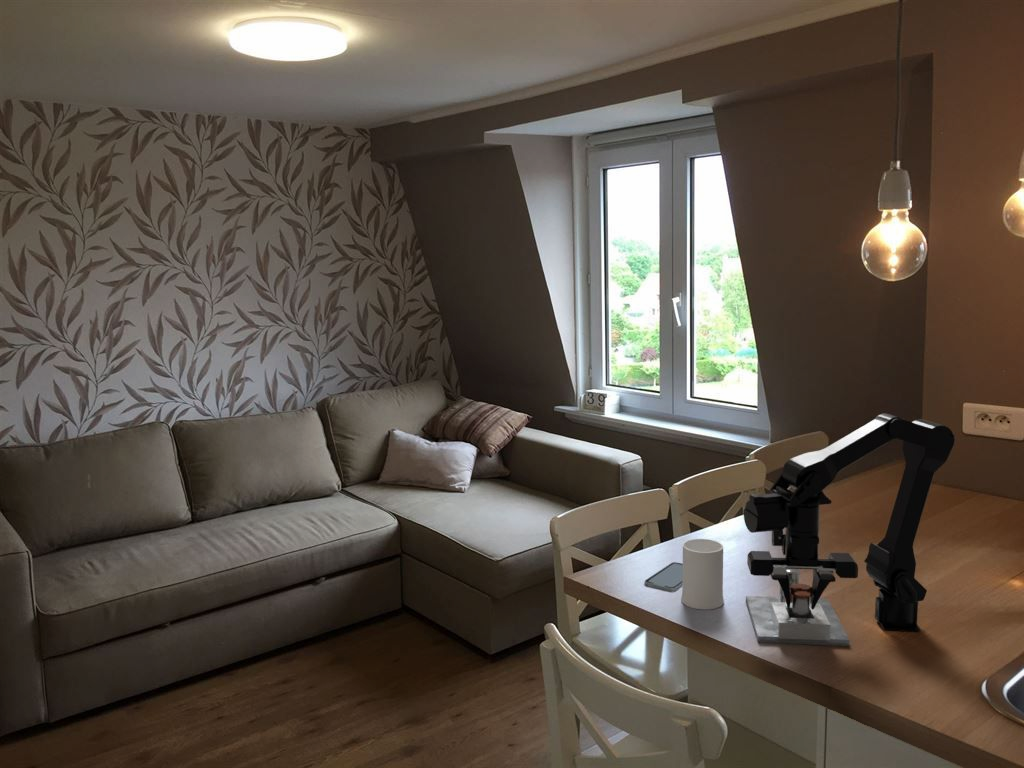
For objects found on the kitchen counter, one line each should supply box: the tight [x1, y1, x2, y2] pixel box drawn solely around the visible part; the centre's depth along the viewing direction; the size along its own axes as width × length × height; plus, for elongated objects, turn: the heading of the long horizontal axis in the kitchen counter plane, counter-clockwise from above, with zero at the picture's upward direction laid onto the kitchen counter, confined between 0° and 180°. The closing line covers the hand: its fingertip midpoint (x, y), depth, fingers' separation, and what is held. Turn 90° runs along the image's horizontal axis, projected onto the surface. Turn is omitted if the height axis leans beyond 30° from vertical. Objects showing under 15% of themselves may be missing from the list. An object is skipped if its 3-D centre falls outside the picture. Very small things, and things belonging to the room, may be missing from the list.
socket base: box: [745, 569, 850, 647], centre depth 162 cm, size 16×18×8 cm
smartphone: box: [644, 561, 683, 592], centre depth 186 cm, size 7×1×15 cm
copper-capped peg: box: [790, 583, 813, 618], centre depth 157 cm, size 4×4×8 cm
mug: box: [680, 538, 725, 611], centre depth 174 cm, size 12×8×12 cm
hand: (800, 608), depth 157 cm, fingers open, 4 cm apart
